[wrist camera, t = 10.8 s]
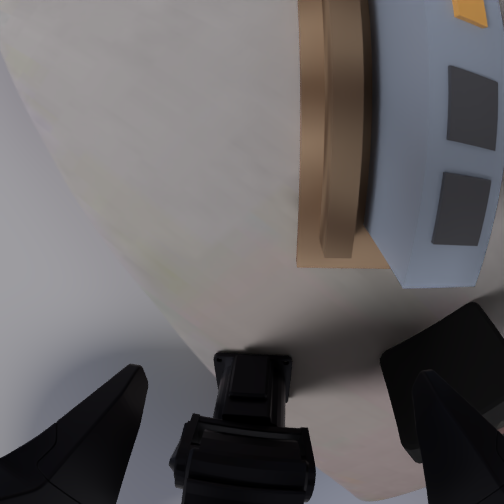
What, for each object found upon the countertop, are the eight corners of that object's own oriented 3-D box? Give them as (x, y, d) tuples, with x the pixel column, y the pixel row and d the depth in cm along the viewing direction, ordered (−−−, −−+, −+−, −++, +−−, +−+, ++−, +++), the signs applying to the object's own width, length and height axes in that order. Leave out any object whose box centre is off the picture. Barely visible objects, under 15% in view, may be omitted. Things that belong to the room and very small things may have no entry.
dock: (451, 262, 19) (472, 287, 16) (296, 260, 20) (299, 289, 17) (466, -2, 10) (493, -13, 7) (295, -41, 11) (297, -67, 8)
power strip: (420, 227, 17) (478, 291, 11) (363, 224, 18) (406, 293, 11) (429, 13, 11) (499, -19, 4) (368, -2, 11) (417, -55, 5)
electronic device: (377, 354, 24) (403, 454, 15) (474, 297, 20) (530, 380, 11) (391, 378, 25) (414, 467, 16) (479, 326, 22) (525, 405, 13)
